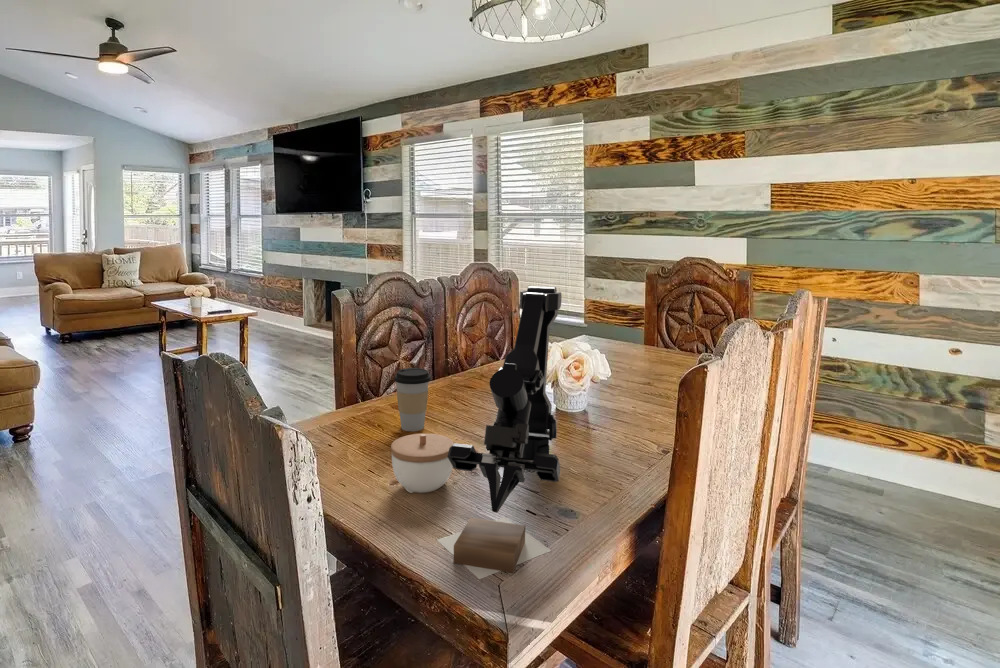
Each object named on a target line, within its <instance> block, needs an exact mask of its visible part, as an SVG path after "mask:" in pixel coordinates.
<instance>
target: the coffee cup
mask: <svg viewBox="0 0 1000 668" xmlns="http://www.w3.org/2000/svg"><path fill="white" fill-rule="evenodd" d="M393 381H394V383H396V397H397V398H396V399H397V406H398V412H399V419H400V427H401V430H402V431H406V432H419V431H422V430H423V429H424V428H425V420H426V412H427V408H428V407H427V405H428V397H429V383H430V381H432V376H431V374H430V373H429V371H428V370H427V369H425V368H422V367H421V368H420V367H408V368H407V367H406V368H401V369H398V370H397V372H396V374H395V375H394V378H393Z"/></svg>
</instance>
